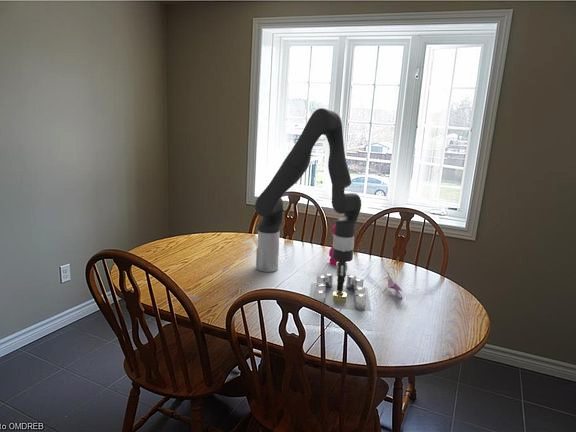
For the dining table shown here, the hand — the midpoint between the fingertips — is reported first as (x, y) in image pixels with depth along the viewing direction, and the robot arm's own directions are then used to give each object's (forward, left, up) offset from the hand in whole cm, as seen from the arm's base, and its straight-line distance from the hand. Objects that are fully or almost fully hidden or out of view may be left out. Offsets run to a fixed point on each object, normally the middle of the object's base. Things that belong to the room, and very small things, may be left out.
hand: (339, 290), depth 155 cm
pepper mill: (-1, +35, -2) cm, 35 cm away
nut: (0, -6, -1) cm, 6 cm away
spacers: (0, -3, -1) cm, 4 cm away
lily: (+20, +4, -2) cm, 21 cm away
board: (0, -9, -2) cm, 9 cm away
